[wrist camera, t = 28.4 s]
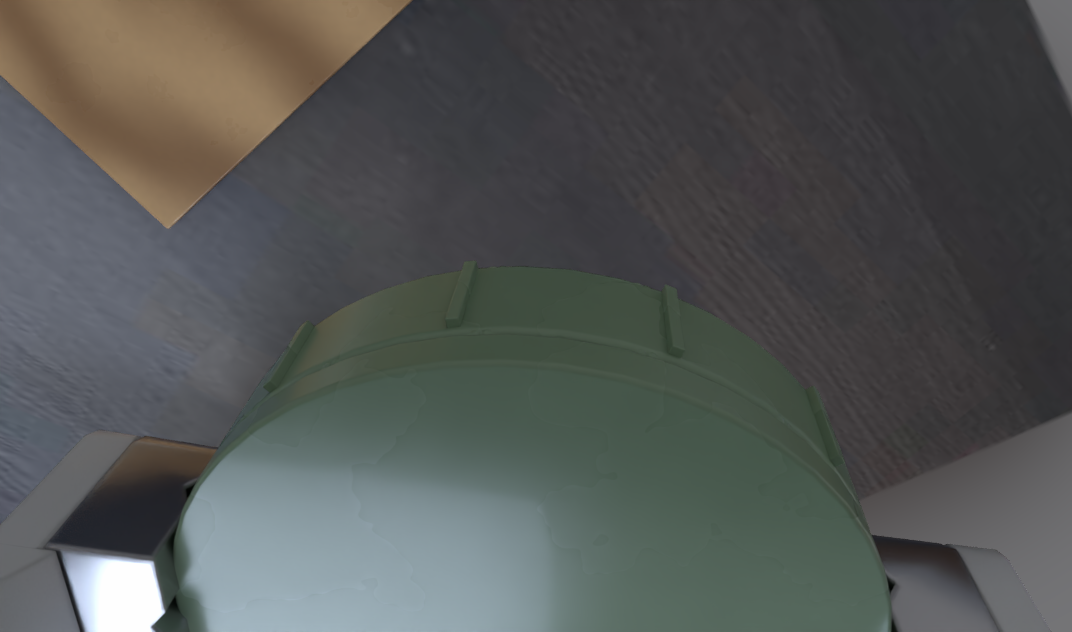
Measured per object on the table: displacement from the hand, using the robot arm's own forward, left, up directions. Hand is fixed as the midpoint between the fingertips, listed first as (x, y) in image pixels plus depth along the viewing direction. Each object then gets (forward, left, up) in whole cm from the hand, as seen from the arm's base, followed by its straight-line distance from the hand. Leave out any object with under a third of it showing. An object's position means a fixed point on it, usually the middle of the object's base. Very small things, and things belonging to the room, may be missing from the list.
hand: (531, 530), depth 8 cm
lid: (0, 0, +1) cm, 1 cm away
